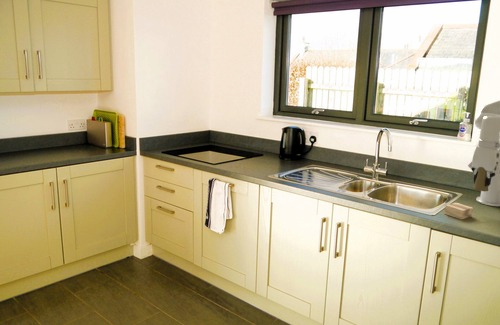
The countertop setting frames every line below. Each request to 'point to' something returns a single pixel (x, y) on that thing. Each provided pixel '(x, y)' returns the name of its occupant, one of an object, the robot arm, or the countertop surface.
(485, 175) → the cork
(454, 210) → the oak block base
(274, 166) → the countertop surface
